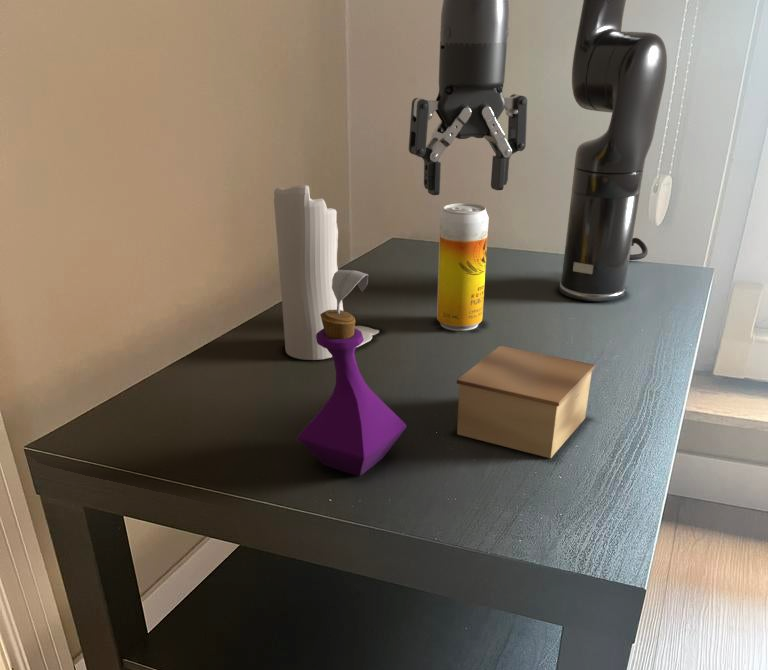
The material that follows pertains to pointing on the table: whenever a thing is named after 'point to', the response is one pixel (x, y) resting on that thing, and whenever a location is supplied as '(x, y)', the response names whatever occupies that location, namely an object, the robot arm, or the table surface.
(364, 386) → the purple potion bottle
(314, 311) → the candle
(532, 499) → the table surface
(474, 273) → the beer can
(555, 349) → the table surface
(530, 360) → the wooden box
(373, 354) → the table surface
